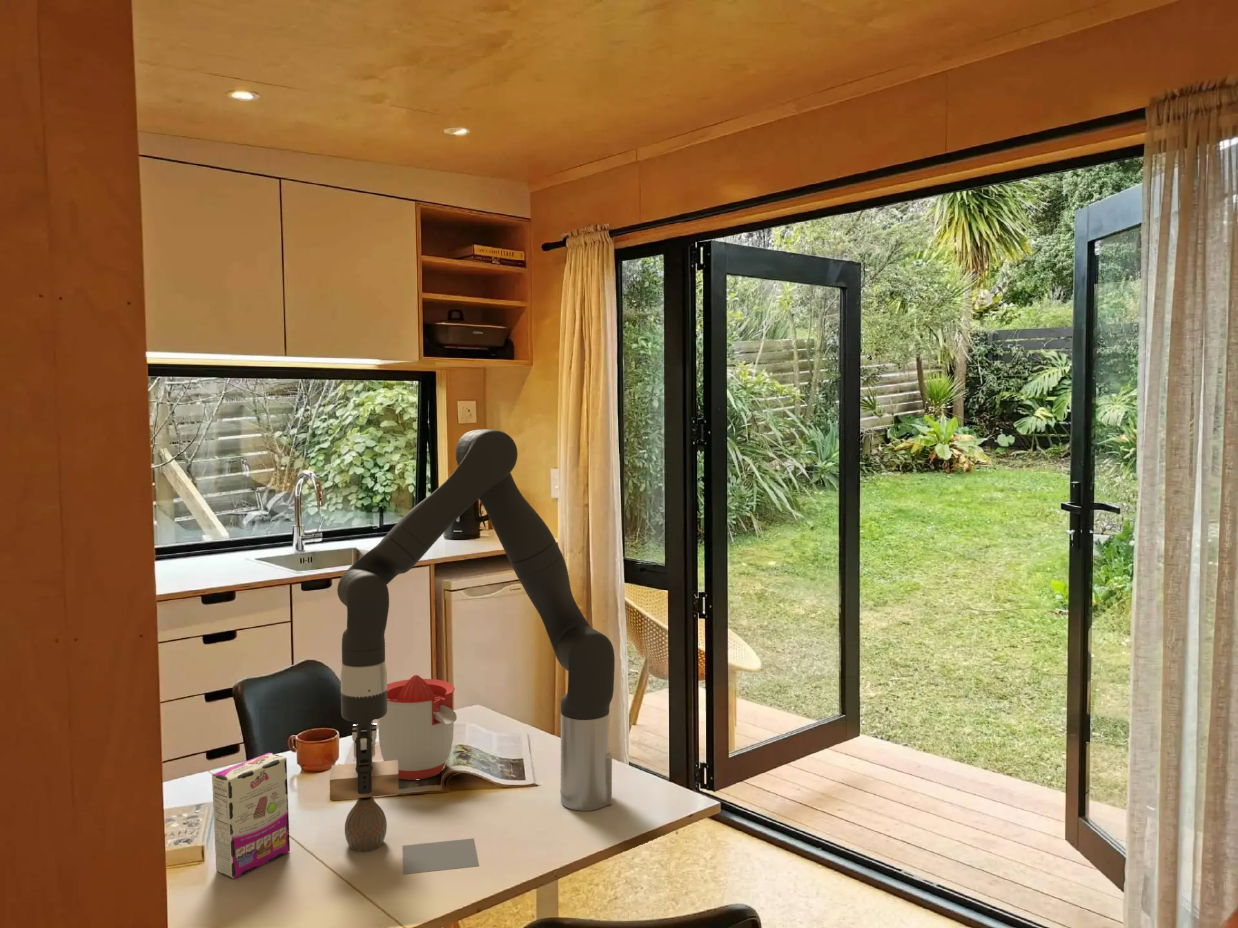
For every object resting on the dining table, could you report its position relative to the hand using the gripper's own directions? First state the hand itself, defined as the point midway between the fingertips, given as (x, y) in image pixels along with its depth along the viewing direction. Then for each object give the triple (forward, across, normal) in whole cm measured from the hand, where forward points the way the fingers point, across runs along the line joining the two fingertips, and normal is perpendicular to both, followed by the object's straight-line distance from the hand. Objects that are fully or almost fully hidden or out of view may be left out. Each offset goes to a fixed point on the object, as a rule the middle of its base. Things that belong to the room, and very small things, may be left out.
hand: (365, 784), depth 161 cm
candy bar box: (+11, -1, +18) cm, 21 cm away
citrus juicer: (+11, +32, -10) cm, 35 cm away
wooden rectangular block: (+1, 0, 0) cm, 1 cm away
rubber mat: (+11, -7, -12) cm, 18 cm away
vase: (+11, 0, 0) cm, 11 cm away
